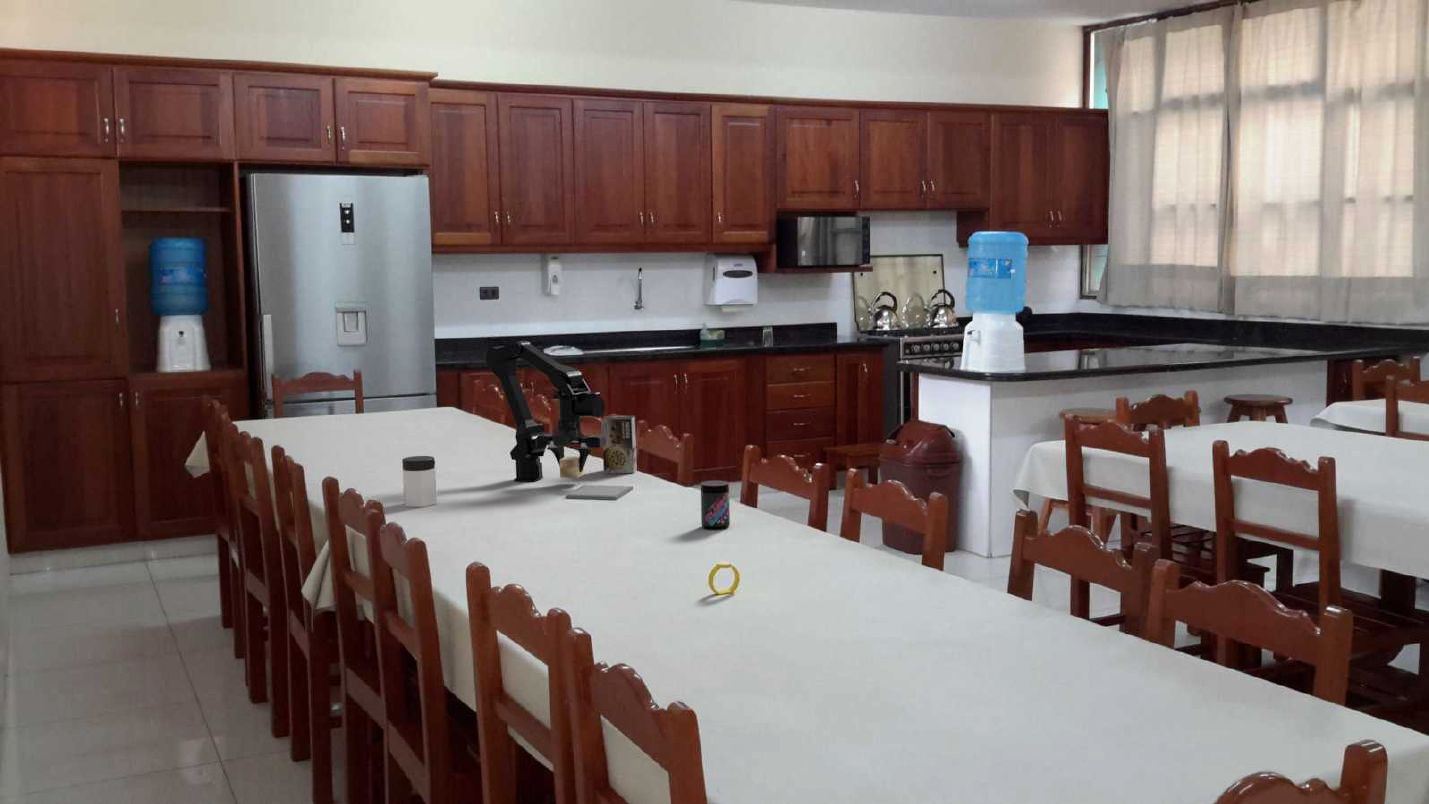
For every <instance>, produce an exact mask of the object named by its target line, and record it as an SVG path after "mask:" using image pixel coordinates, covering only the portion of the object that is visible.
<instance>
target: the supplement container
mask: <svg viewBox="0 0 1429 804" xmlns="http://www.w3.org/2000/svg"><path fill="white" fill-rule="evenodd" d="M699 484H700V487H699V488H700V513H701V514H700V521H701V522H700V525H701V527H702V528H703V529H704V530H710V531H720V530H725V529H728V528H729V527H730V524H731V522H730V521H731V517H730V516H731V514H730V513H731V511H730V491H731V490H730V482H729V481H726V480H705V481H701V482H700V483H699Z"/></svg>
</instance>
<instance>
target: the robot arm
mask: <svg viewBox="0 0 1429 804" xmlns="http://www.w3.org/2000/svg"><path fill="white" fill-rule="evenodd" d="M484 357H485V362H486V365H487V366H488V368H489V370H490V372H491V373H492V374H493V375H494V376H495V377H496V378H498V379H499V382H500V384H501V386H502V389H503V392H504V395H505V398H506V401H507V402H508V406H509V409H510V411H511V414H512V417H513V419H514V422H515V425H516V428H515V429H516V430H515V442H516V444H515V446H514V447H513V448H512V449H510V450H511V451H510V452H509V454H510V458H511V460H514V461H515V478H513V481H514V482H537V481H539V480H541V479H543V478H544V475H543V463H542V462H541V457H544V455H545V452H546V449H547V450H549V451H550V452H552V454H553V455H554V457H555V459H556V461H557V464H558V467H560V459H562V458H564V457H565V447H570V446H571V445H580V446H581V447H578V449H577V450H578V452H579V456H578V457H579V470H580V472H582V471H583V470H584V467H585V465H586V463H587V459H588V456H589V454H590V452H591V451H592V450H593V449H596V448H597V449H598V448H599V449H600V448H603V446H604V445H606V438H605V436H604V435H602V434H590V435H588V436H586V437H583V432H582V427H581V426H582V425H581V423H582V422H583V418H584V417H585V418H595V419H599V418H601V417H603V416H604V414H605V411H606V403H605V401H604V399H603V398H602V397H601V393H600V392H599V391H598V392H592V391H591V389H590V388H589V386H588V384H587V383H586V381H585V380H584V378H583V374H582V372H581V371H580V370H579V369H576V368H574V367H572V366H569V365H565V364H562V363H559V362H557V361H556V360H554V359H553V358H552V357H550V356H549V355H548V354H545V353H544V352H543V351H542V350H540V349H538V348H537V347H536V346H534V345H533V344H532V343H531V341H528V340H521V341H515V342H513V343H510V344H507V345H501V346H493V347H489V348H488V349H487V351H486V354H485V356H484ZM520 359H522V360H523V361H525V362H526V363H528V364H530V365H531V366H532V367H533V368H535V369H536V370H538V371H539V372H540V373H542V374H543V375H544V376H546V377H547V378H548V379H549V383H550V385H552V386H553V388H554V389H556V390H557V391H556V393H555V394H553V396H552V399H553V400H558V407H559V408H558V409H559V411H558V412H559V420H557V427H556V428H555V430H553V432H552V433H546V430H545V426H544V424H543V423H537V422H536V421H535V420H534V418H533V415H532V413H531V410H530V407H529V404H528V401H527V399H526V397H525V396H526V395H525V393H524V391H523V388H522V386H521V383H520V380H519V378H518V374H517V371H518V365H519V363H518V360H520ZM582 417H583V418H582Z"/></svg>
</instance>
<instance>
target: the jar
mask: <svg viewBox="0 0 1429 804" xmlns="http://www.w3.org/2000/svg"><path fill="white" fill-rule="evenodd" d="M401 464H402V465H401V466H402V468H401V469H402V484H403V485H402V487H403V488H402V489H403V503H404V506H405V507H407V508H425V507H430V506H435V505H437V504H438V498H437V496H438V495H437V474H436V471H437V470H436V468H435V467H436V461H435V457H434V456H430V455H415V456H408V457H404V458H402V463H401Z"/></svg>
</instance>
